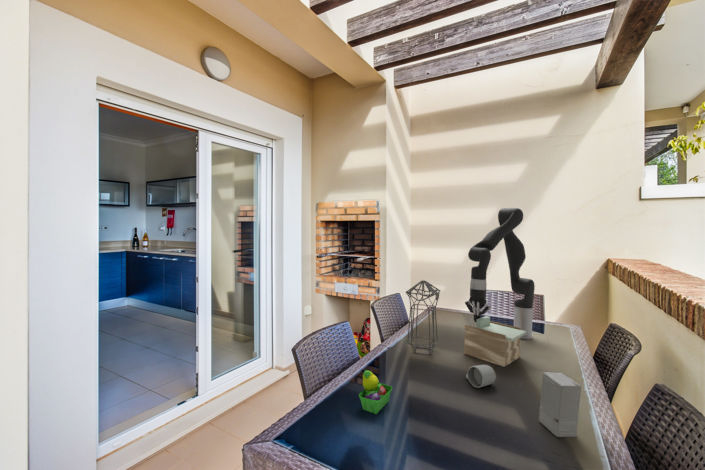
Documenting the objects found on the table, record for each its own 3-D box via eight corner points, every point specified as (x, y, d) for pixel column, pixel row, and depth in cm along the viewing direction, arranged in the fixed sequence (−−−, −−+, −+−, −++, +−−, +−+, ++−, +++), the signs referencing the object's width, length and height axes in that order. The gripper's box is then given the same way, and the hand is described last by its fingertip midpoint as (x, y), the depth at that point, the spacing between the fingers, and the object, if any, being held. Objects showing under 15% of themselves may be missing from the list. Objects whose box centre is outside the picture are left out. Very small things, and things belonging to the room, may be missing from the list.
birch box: (481, 345, 163) (481, 318, 163) (519, 357, 149) (520, 327, 149) (464, 353, 152) (465, 324, 152) (504, 366, 138) (505, 335, 138)
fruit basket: (378, 417, 99) (378, 382, 99) (354, 409, 104) (354, 375, 104) (393, 401, 109) (393, 369, 109) (370, 394, 114) (371, 363, 114)
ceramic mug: (497, 386, 120) (497, 366, 120) (482, 391, 117) (482, 370, 117) (474, 375, 130) (475, 357, 130) (460, 379, 126) (460, 360, 126)
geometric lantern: (403, 354, 151) (404, 281, 151) (410, 344, 165) (411, 277, 166) (437, 359, 145) (438, 283, 145) (441, 348, 159) (441, 279, 160)
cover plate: (488, 324, 160) (488, 314, 160) (526, 333, 146) (526, 323, 146) (473, 330, 150) (473, 320, 150) (512, 341, 136) (512, 329, 136)
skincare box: (537, 421, 99) (539, 371, 99) (559, 420, 100) (560, 370, 99) (557, 439, 91) (559, 384, 90) (580, 438, 91) (582, 384, 91)
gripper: (494, 289, 153) (493, 324, 154) (469, 284, 163) (468, 317, 164) (487, 290, 148) (486, 327, 149) (462, 286, 158) (460, 320, 159)
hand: (476, 322), depth 156 cm, fingers closed
